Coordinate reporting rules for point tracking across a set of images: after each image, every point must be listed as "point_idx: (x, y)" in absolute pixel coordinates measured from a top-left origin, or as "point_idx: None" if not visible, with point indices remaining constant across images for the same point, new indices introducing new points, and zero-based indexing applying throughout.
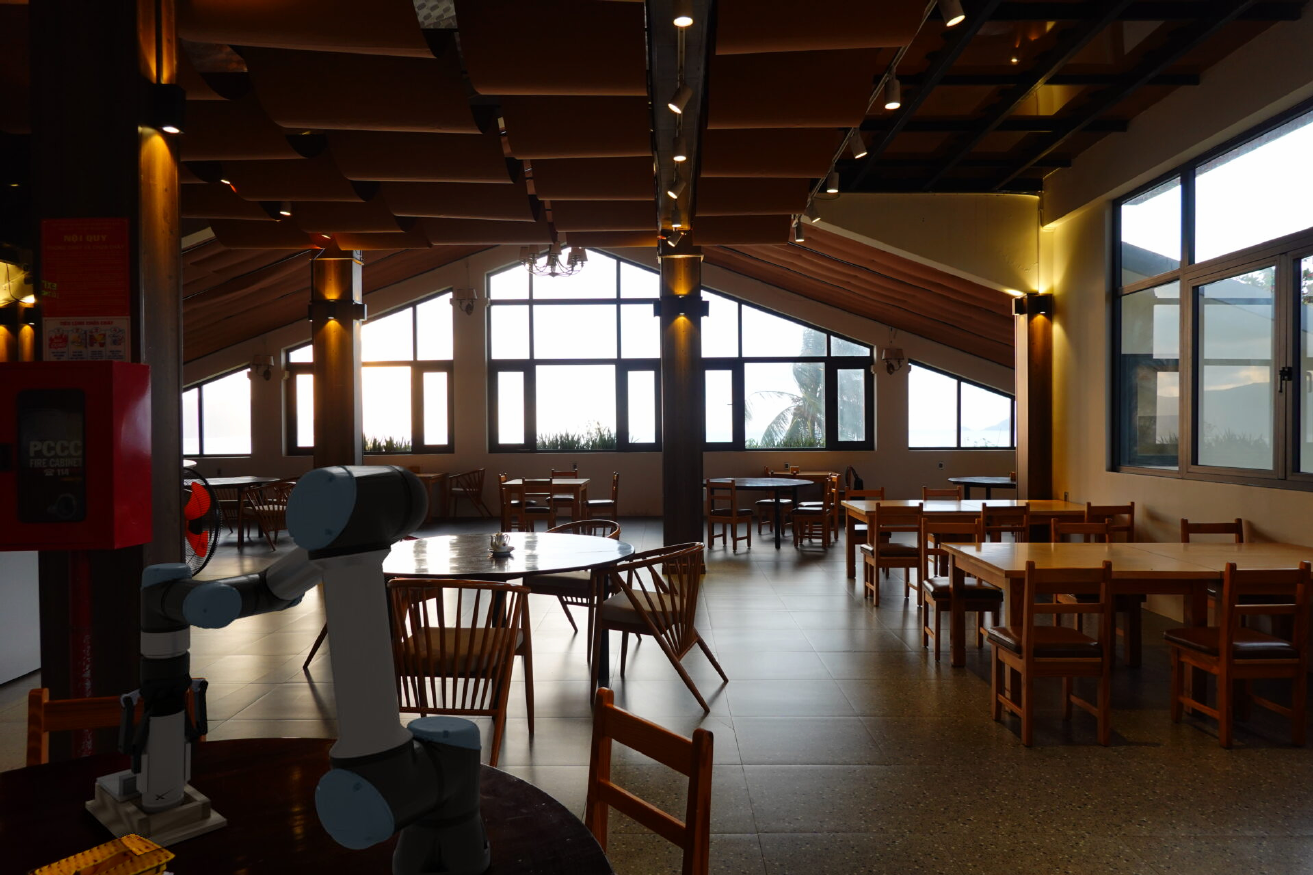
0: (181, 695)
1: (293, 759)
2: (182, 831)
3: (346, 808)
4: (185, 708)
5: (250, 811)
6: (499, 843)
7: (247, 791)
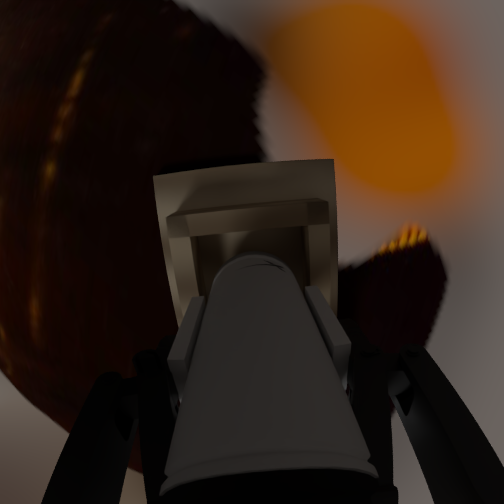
0: None
1: (41, 367)
2: (240, 181)
3: None
4: (154, 496)
5: (107, 213)
6: None
7: (98, 308)
